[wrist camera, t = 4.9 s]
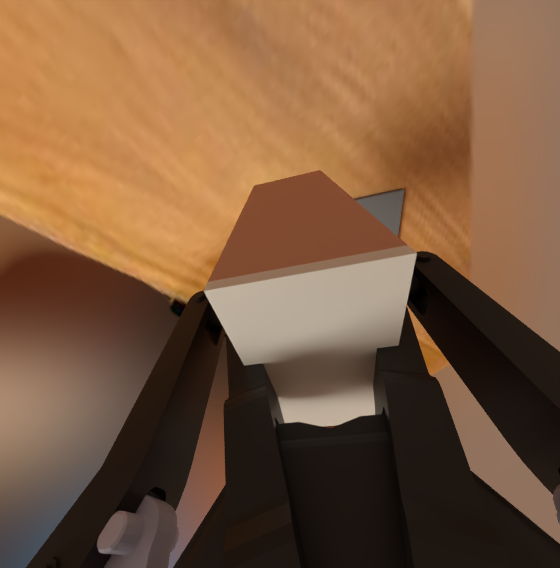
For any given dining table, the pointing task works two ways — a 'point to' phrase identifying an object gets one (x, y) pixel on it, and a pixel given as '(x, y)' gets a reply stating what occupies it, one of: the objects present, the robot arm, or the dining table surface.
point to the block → (312, 295)
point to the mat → (385, 207)
